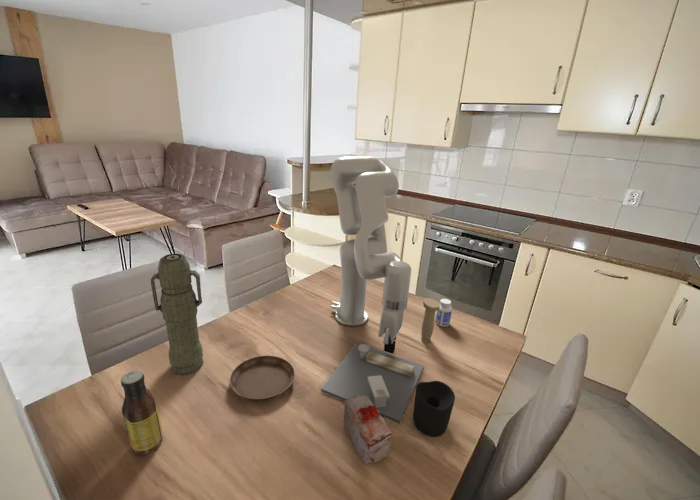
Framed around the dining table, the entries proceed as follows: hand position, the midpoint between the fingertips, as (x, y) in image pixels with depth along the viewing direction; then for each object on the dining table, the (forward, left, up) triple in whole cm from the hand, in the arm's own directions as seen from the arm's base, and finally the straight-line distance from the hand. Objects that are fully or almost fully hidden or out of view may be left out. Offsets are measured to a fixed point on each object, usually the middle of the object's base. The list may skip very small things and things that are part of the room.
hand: (389, 351), depth 111 cm
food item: (+6, -32, -3) cm, 33 cm away
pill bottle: (+11, +29, -2) cm, 32 cm away
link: (+2, -6, -1) cm, 6 cm away
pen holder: (+18, -20, -2) cm, 27 cm away
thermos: (-52, -34, -2) cm, 62 cm away
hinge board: (0, -12, -2) cm, 12 cm away
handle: (+8, +15, -2) cm, 18 cm away
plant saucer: (-28, -29, -3) cm, 40 cm away
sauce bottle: (-38, -57, -2) cm, 68 cm away
